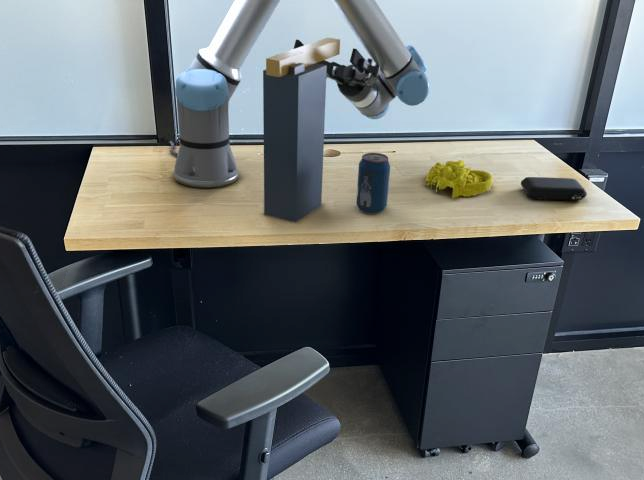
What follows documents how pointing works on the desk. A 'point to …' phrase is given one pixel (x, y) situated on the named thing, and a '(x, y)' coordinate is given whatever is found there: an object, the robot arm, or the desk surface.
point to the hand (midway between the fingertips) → (323, 50)
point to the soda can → (373, 183)
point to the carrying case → (553, 188)
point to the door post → (294, 141)
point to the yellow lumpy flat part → (459, 178)
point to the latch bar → (302, 56)
